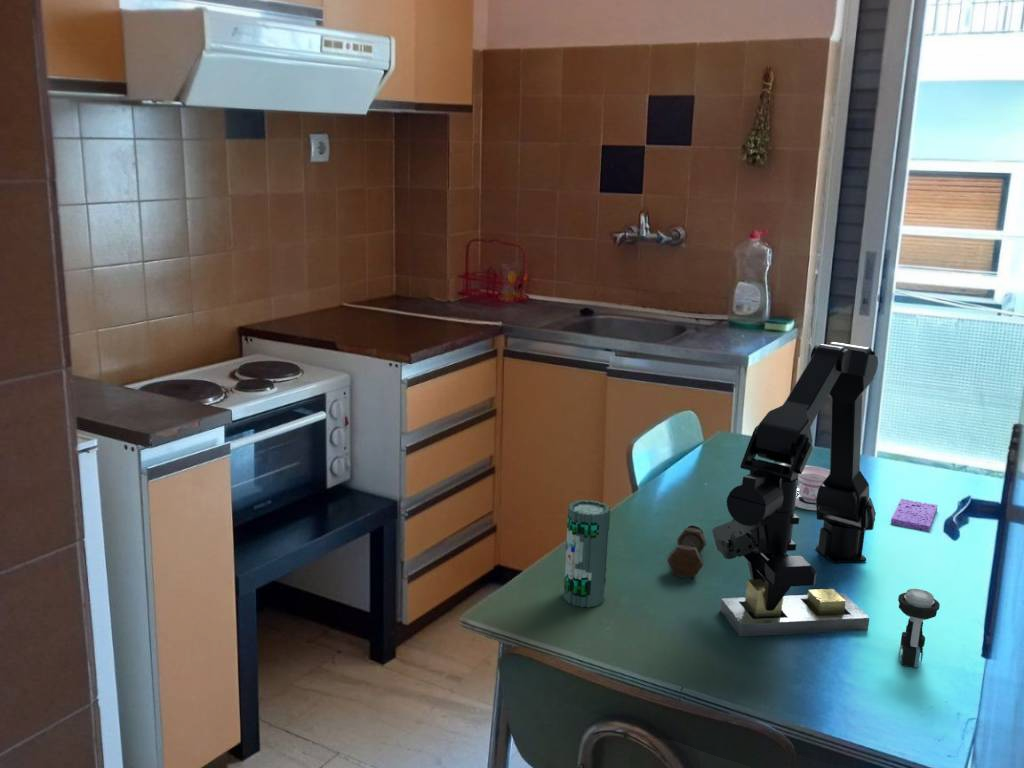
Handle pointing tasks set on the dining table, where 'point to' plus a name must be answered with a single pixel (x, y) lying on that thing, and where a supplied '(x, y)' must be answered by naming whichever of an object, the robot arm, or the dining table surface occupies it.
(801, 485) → the teacup
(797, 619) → the rectangular frame
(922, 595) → the push button
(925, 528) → the sponges
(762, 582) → the beige wood block
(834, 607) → the tan wooden cube
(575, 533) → the can
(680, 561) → the bolt
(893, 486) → the dining table surface
